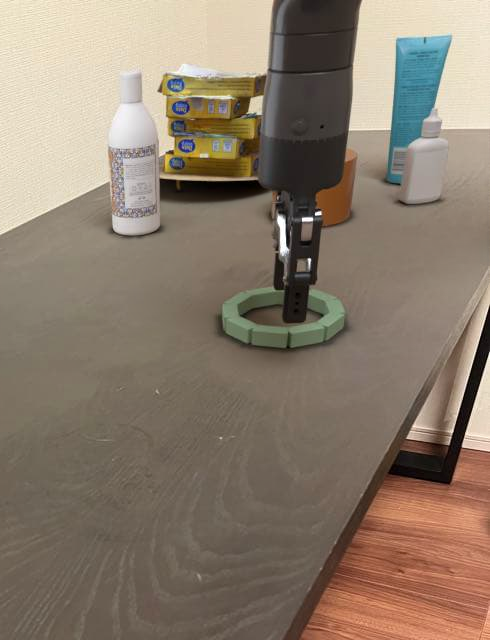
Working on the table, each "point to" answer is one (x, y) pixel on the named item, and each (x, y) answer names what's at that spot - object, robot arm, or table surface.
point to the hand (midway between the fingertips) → (288, 304)
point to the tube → (413, 93)
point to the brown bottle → (336, 194)
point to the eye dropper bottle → (425, 164)
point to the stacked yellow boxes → (211, 124)
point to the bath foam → (133, 162)
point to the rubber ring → (281, 335)
